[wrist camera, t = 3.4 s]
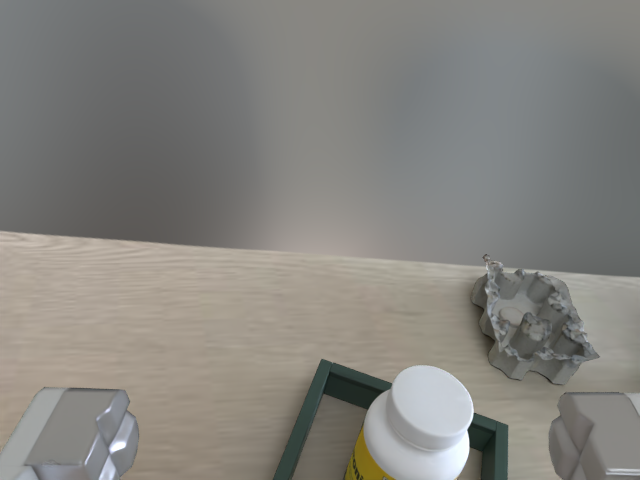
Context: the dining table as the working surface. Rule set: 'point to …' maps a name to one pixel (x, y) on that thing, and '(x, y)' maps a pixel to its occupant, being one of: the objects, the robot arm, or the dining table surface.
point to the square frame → (363, 393)
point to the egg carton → (531, 324)
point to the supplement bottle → (415, 429)
